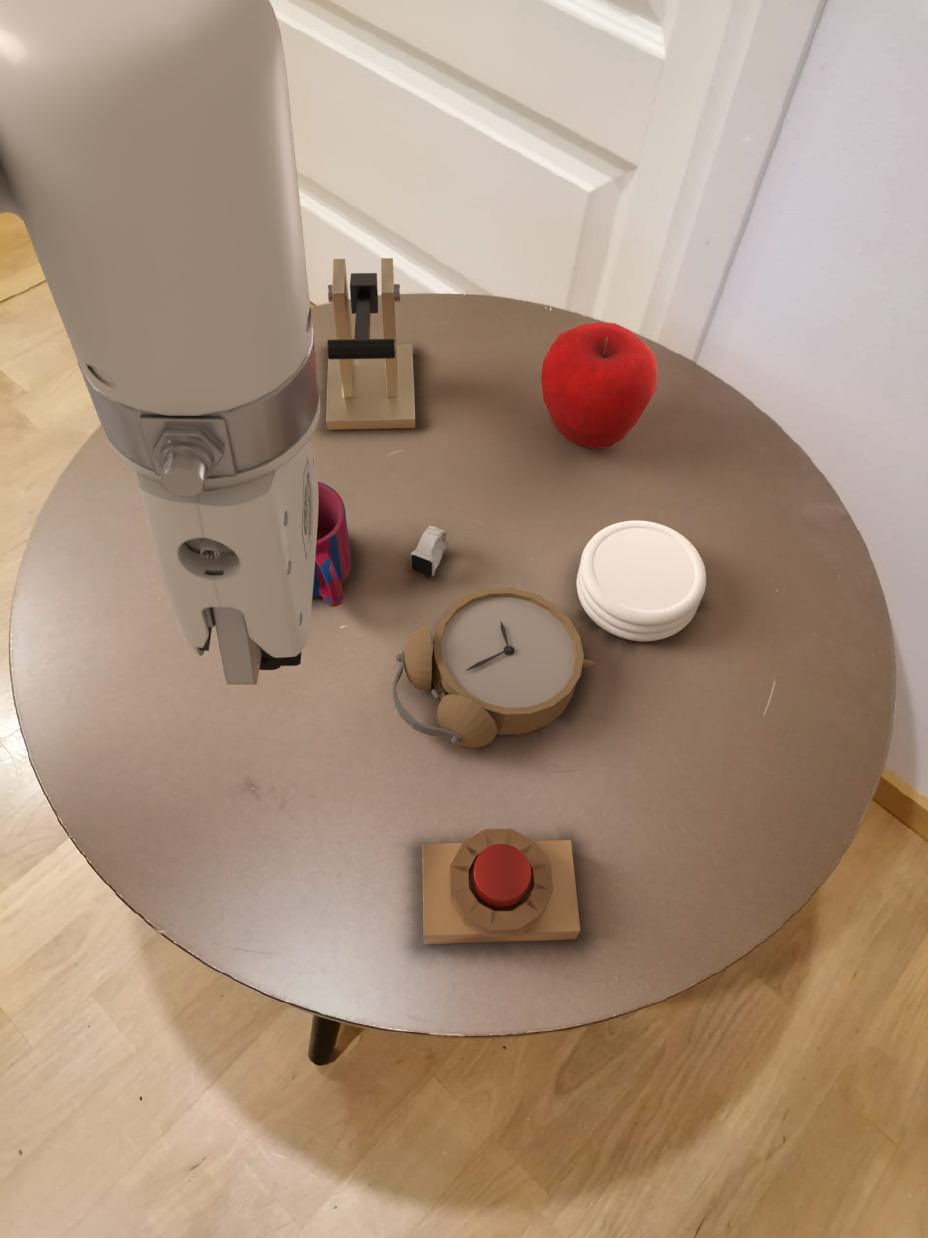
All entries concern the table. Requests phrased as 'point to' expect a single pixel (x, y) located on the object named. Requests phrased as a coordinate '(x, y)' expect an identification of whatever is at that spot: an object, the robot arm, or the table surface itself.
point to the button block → (471, 920)
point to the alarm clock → (494, 666)
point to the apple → (597, 383)
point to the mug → (331, 547)
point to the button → (501, 875)
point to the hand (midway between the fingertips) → (270, 651)
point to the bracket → (369, 367)
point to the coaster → (640, 580)
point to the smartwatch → (429, 551)
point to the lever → (362, 324)
